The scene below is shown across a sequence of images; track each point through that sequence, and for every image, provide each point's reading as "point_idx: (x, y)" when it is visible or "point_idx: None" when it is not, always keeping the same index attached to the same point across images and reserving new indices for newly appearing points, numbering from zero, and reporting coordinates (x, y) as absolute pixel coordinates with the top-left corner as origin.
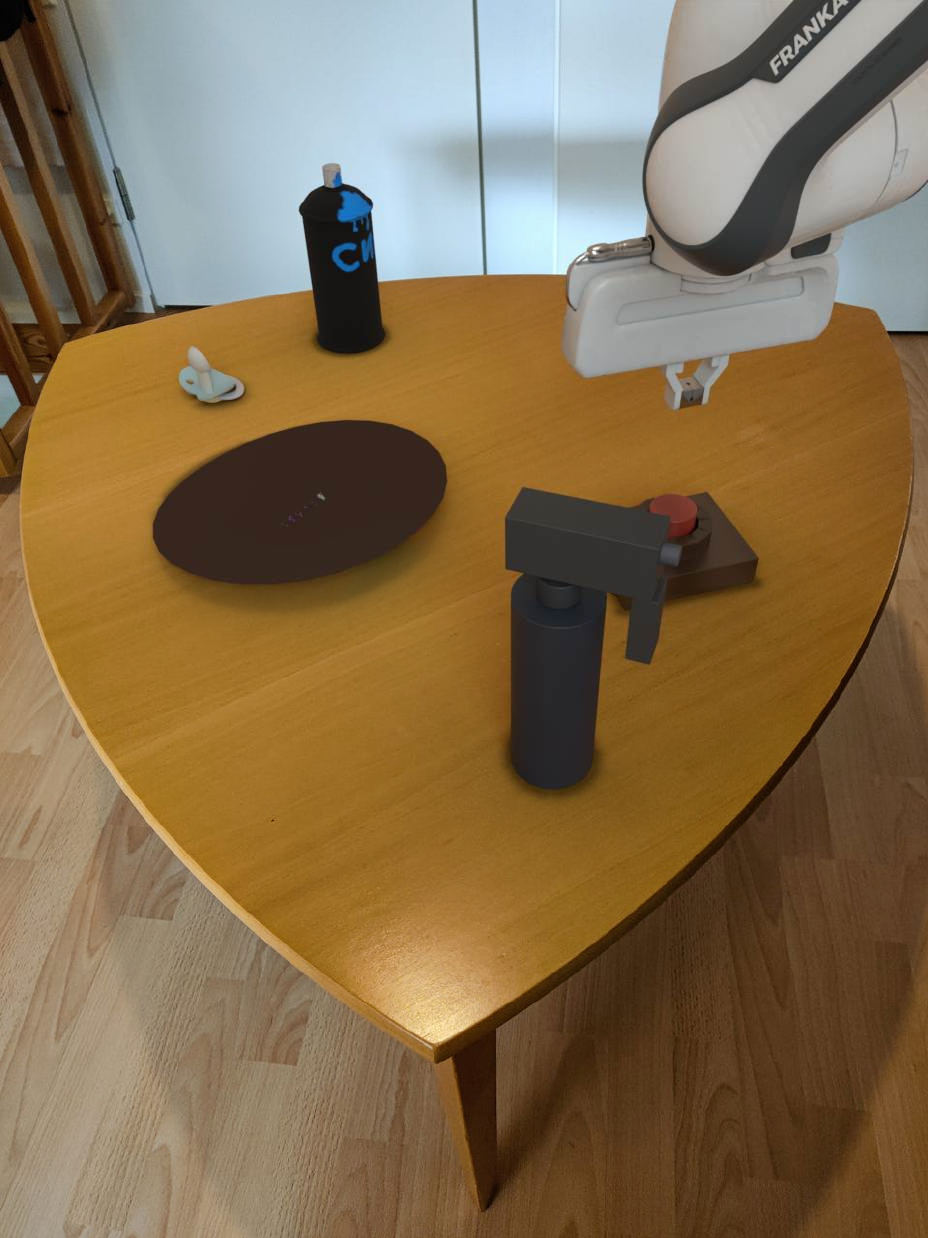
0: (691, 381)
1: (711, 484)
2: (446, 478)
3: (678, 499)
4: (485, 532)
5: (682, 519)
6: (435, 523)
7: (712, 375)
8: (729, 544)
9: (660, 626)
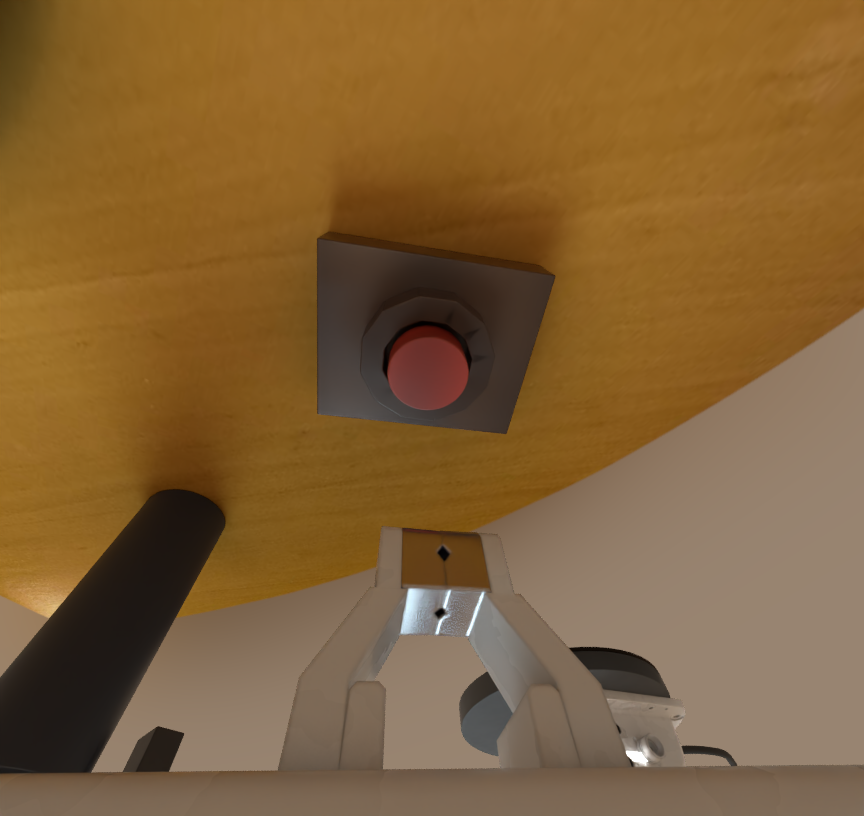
0: (459, 607)
1: (615, 190)
2: None
3: (449, 360)
4: (148, 113)
5: (423, 407)
6: (26, 10)
7: (499, 689)
8: (492, 399)
9: (172, 762)
